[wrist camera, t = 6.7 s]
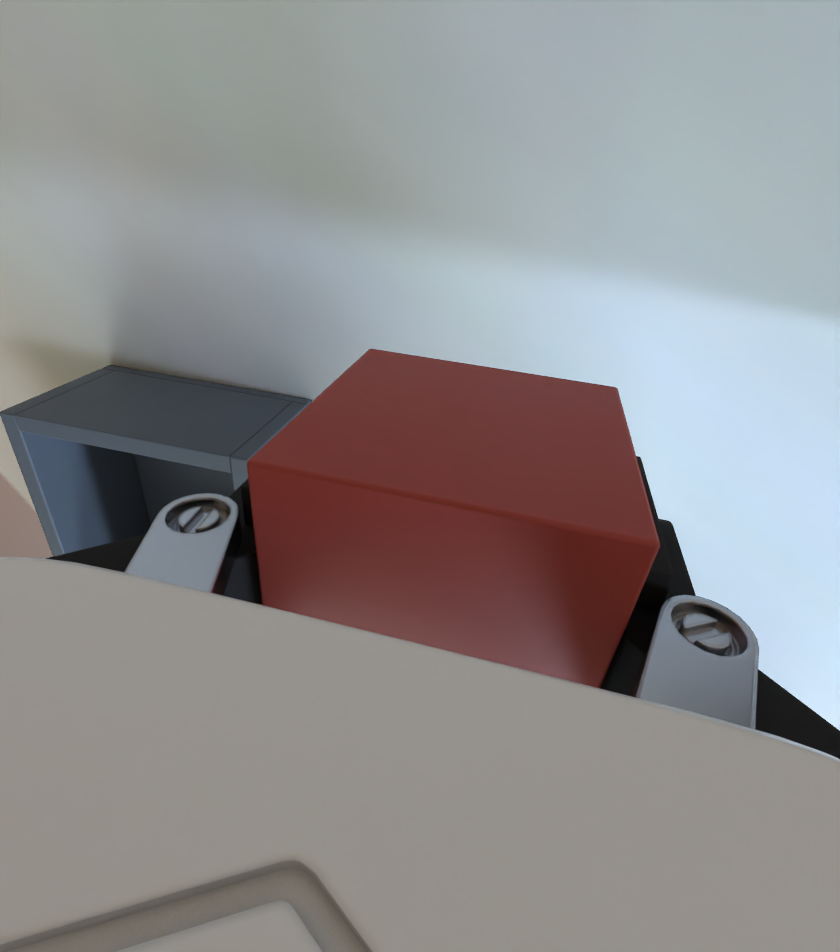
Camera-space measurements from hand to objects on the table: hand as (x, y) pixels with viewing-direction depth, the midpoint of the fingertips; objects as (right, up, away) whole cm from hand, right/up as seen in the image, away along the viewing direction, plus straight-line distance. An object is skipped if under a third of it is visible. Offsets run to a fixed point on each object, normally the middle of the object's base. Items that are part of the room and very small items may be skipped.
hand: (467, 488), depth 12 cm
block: (0, 0, +1) cm, 1 cm away
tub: (-13, 0, +18) cm, 22 cm away
